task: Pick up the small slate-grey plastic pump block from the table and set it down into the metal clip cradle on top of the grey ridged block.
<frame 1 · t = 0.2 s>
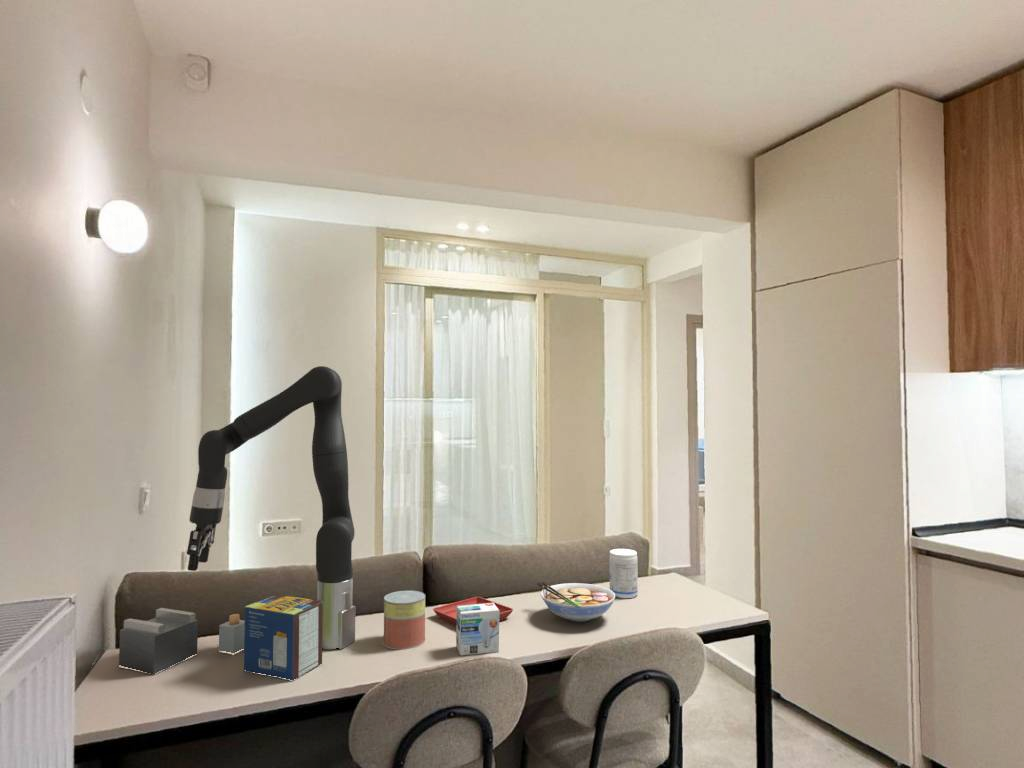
hand: (197, 566, 153), 22 cm above the table, tool pointing down, fingers open, 8 cm apart
canned food: (404, 642, 158), on the table
supplement tub: (623, 595, 199), on the table
grey ridged block: (158, 661, 145), on the table
protein box: (283, 668, 142), on the table
light bulb box: (477, 650, 153), on the table
ramen bowl: (578, 618, 176), on the table
plant saucer: (472, 620, 176), on the table
pump: (233, 650, 152), on the table
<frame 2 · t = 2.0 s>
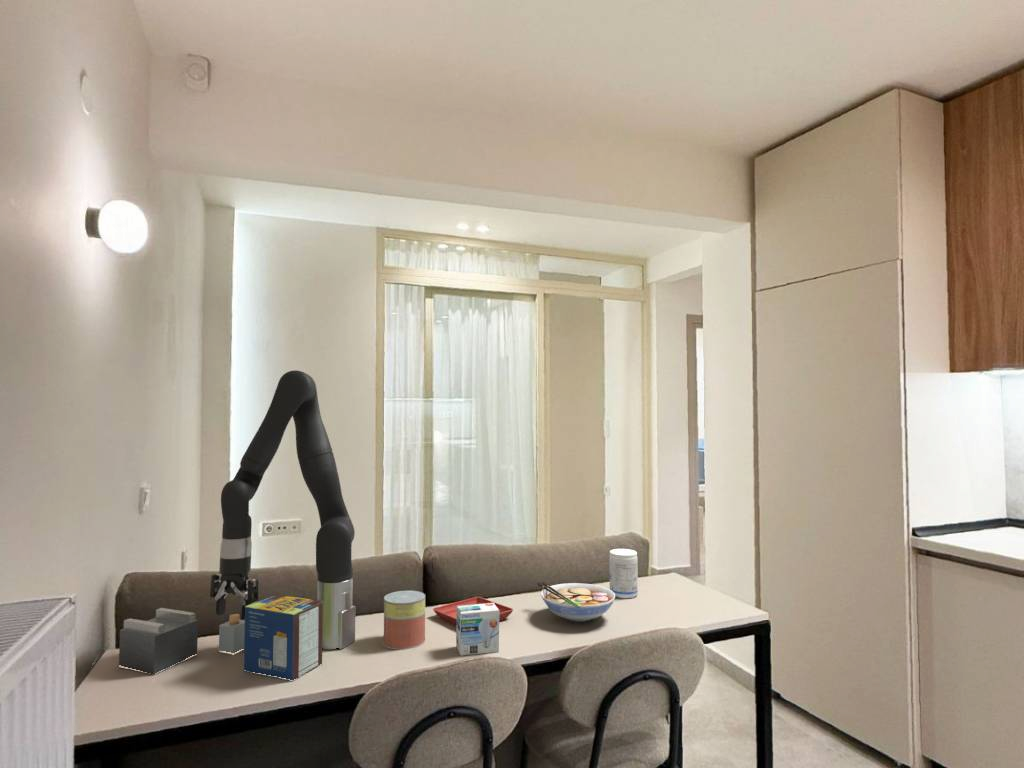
hand: (232, 616, 153), 9 cm above the table, tool pointing down, fingers open, 8 cm apart
nothing on the table moved.
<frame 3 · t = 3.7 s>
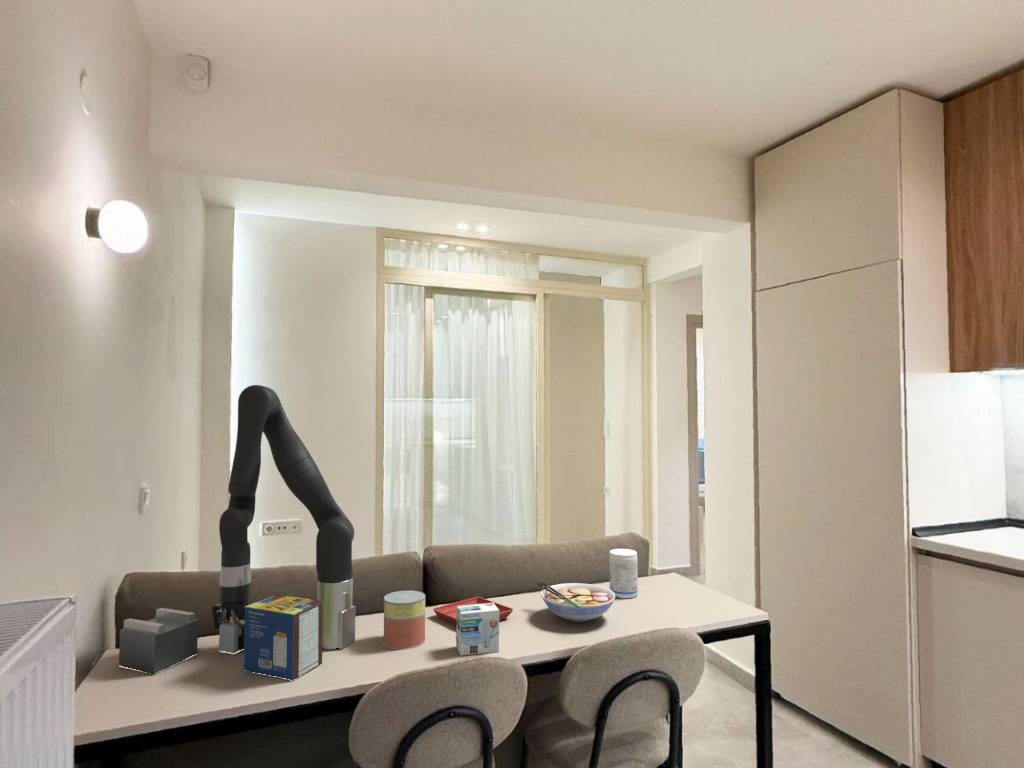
hand: (233, 646, 152), 1 cm above the table, tool pointing down, fingers closed on pump, 5 cm apart
pump: (233, 650, 152), on the table, touching gripper
everything else where it was.
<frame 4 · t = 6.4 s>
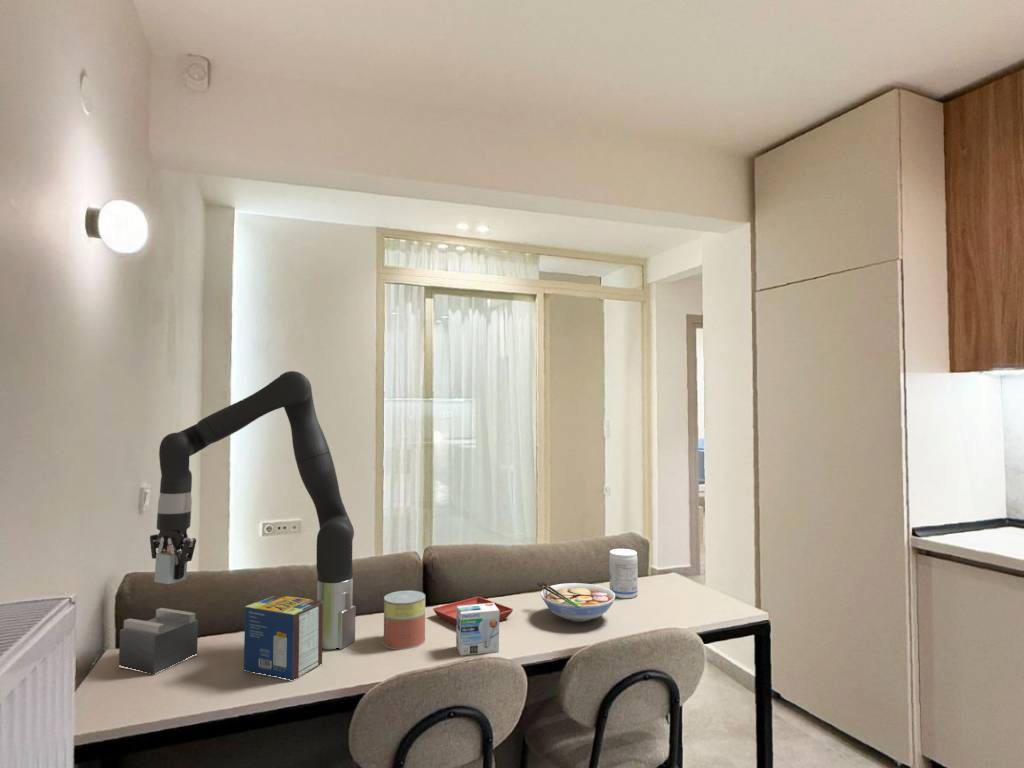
hand: (170, 577, 148), 21 cm above the table, tool pointing down, fingers closed on pump, 5 cm apart
pump: (170, 580, 148), point 20 cm above the table, touching gripper
everything else where it was.
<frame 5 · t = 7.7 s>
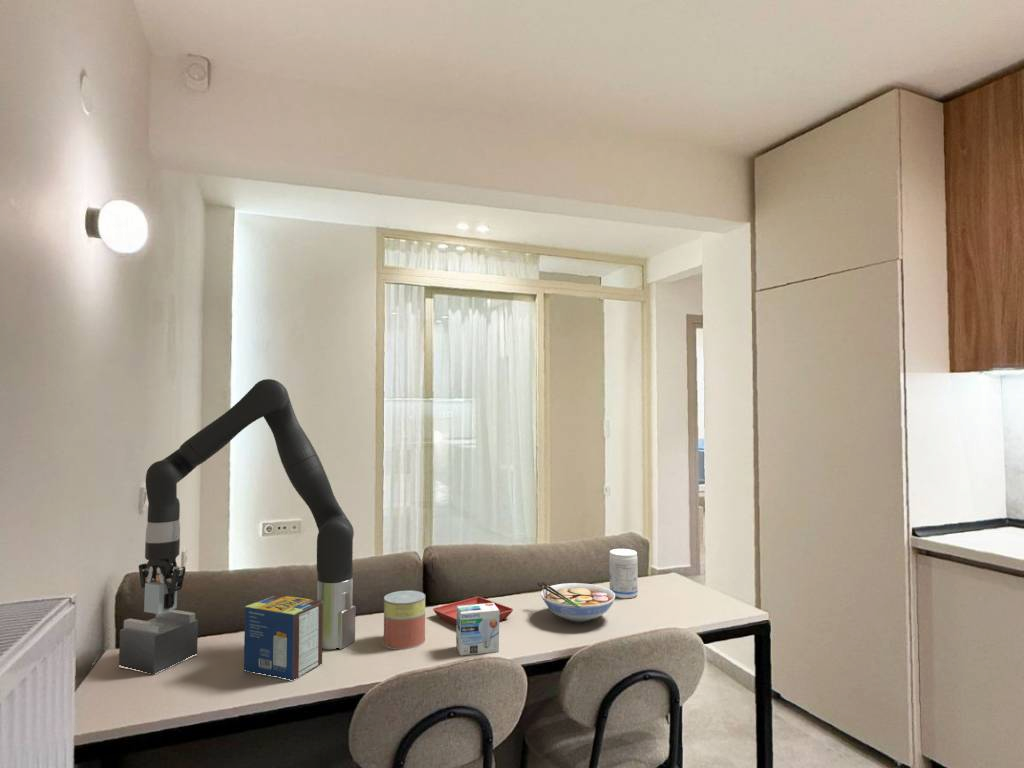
hand: (160, 606, 146), 14 cm above the table, tool pointing down, fingers closed on pump, 5 cm apart
pump: (160, 609, 146), point 13 cm above the table, touching gripper
everything else where it was.
when the fingers open (11 cm above the table, at t = 9.0 s): pump drops 1 cm, resting on grey ridged block.
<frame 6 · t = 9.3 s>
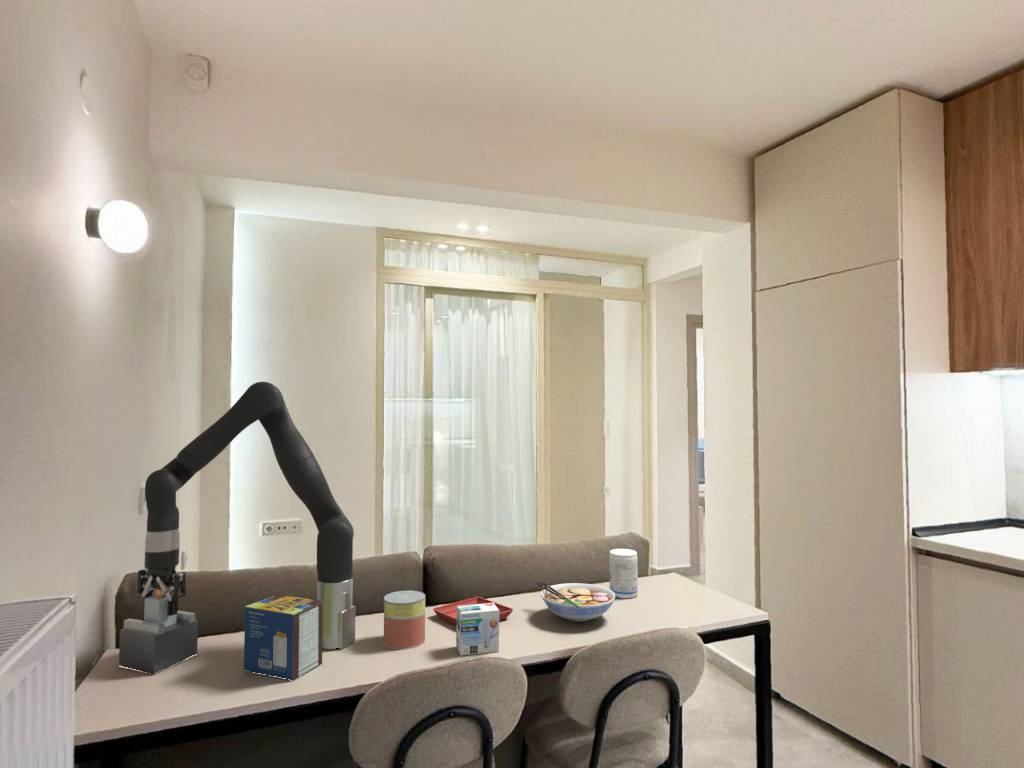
hand: (160, 613, 146), 12 cm above the table, tool pointing down, fingers open, 8 cm apart
pump: (160, 624, 146), point 9 cm above the table, touching grey ridged block
everything else where it was.
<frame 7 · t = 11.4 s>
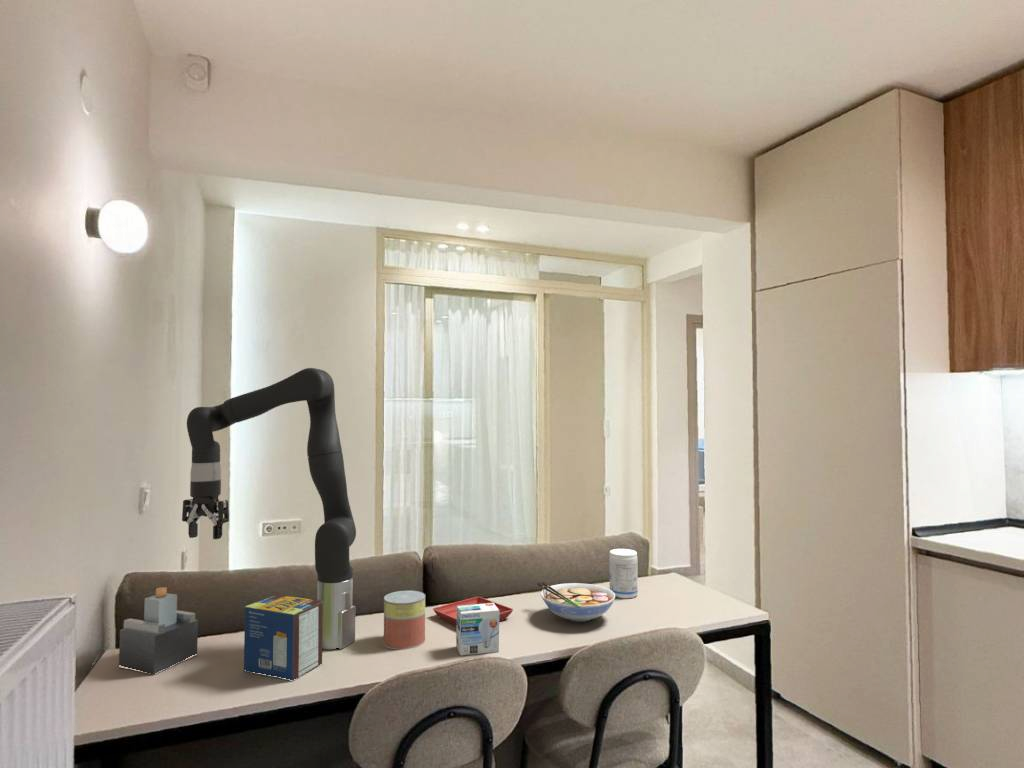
hand: (205, 538, 160), 28 cm above the table, tool pointing down, fingers open, 8 cm apart
nothing on the table moved.
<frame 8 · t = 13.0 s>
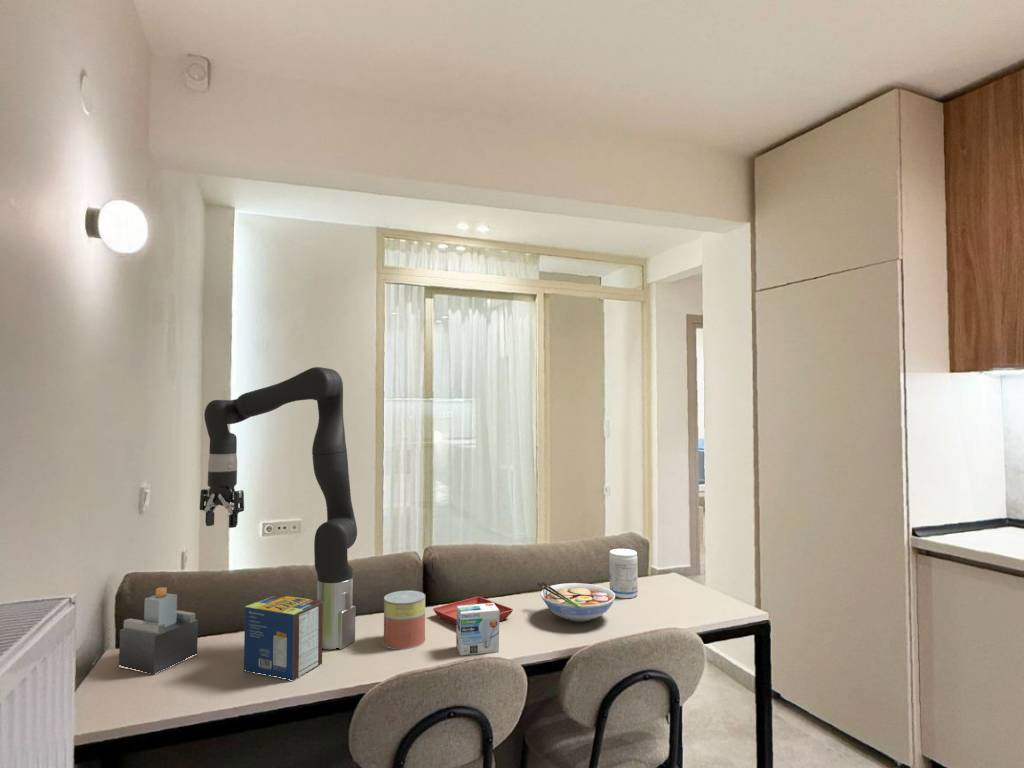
hand: (221, 526, 165), 30 cm above the table, tool pointing down, fingers open, 8 cm apart
nothing on the table moved.
at the end: pump 0.1 cm off-centre on the grey ridged block, point 9.0 cm above the grey ridged block's base; pump tilted 0°; the gripper is holding nothing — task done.
